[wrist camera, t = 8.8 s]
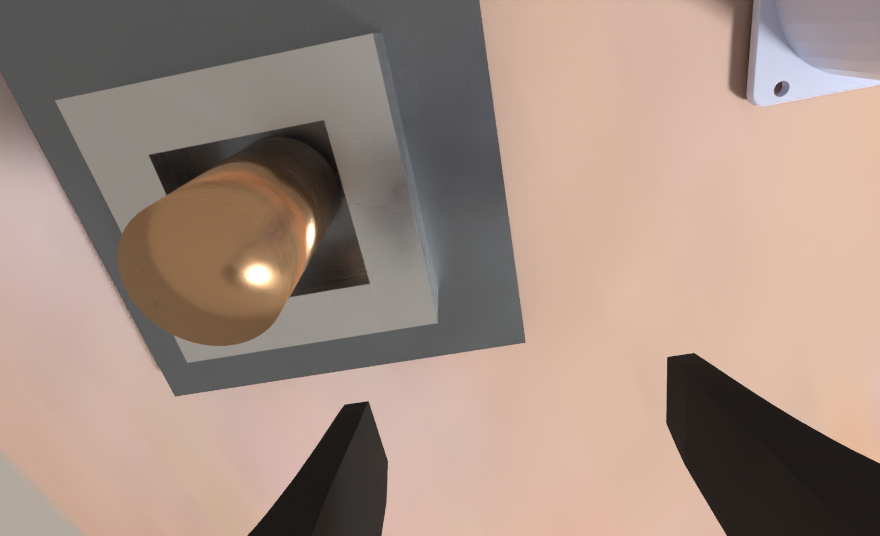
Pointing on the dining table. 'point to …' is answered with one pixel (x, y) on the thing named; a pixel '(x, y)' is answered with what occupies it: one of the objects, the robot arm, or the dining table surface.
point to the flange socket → (301, 118)
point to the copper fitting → (230, 243)
